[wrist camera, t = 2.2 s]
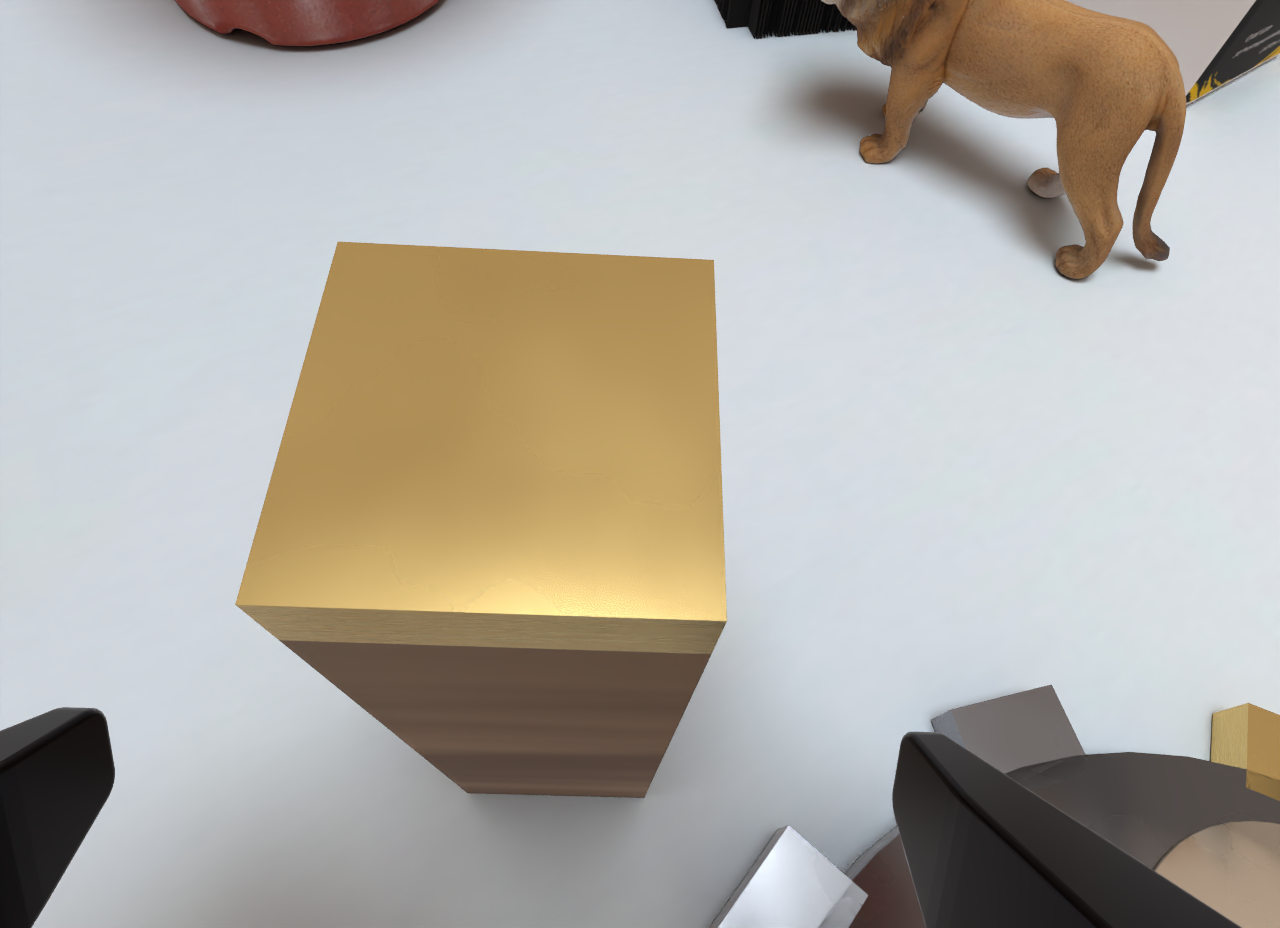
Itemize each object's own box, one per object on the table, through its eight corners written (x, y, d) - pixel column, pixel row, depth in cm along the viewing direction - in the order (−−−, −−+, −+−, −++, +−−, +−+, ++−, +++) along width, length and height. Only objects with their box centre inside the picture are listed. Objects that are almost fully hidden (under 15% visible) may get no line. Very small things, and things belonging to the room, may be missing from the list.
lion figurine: (750, 134, 29) (806, -147, 21) (815, 64, 31) (888, -214, 24) (1135, 315, 26) (1372, 59, 18) (1178, 222, 28) (1404, -43, 20)
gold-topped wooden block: (643, 797, 18) (727, 621, 6) (467, 792, 18) (235, 604, 6) (646, 626, 20) (713, 259, 8) (488, 621, 20) (337, 242, 8)
